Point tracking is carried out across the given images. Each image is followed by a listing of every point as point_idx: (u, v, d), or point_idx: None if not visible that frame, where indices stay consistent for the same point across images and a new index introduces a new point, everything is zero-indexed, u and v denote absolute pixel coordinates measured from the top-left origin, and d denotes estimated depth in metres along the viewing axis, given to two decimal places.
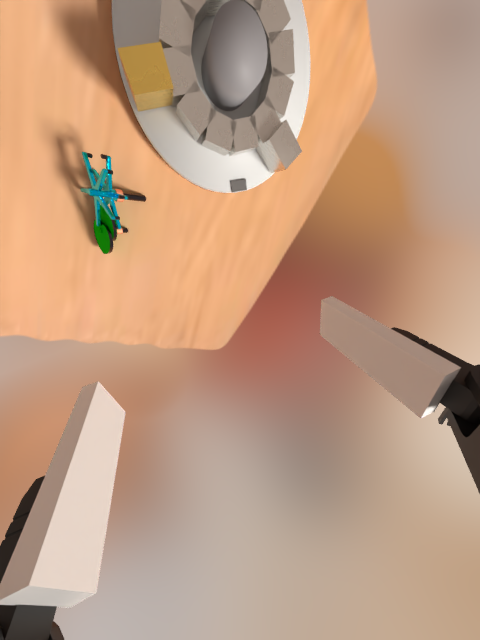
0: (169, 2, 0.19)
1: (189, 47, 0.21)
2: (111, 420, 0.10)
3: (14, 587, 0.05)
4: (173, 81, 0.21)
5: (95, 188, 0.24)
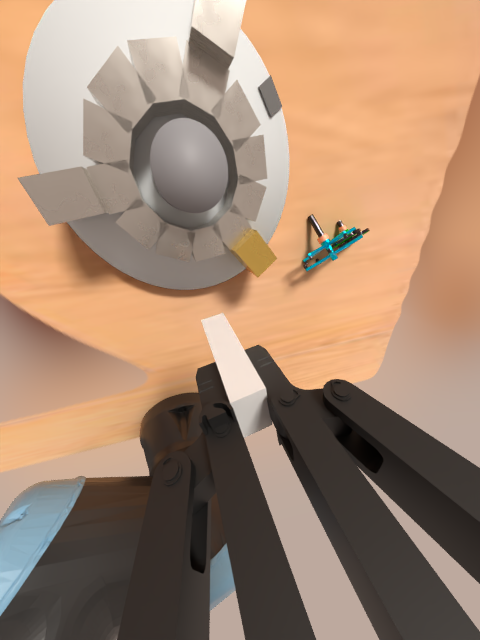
0: (200, 254, 0.21)
1: (212, 227, 0.20)
2: None
3: (238, 397, 0.08)
4: (242, 231, 0.22)
5: (331, 256, 0.28)
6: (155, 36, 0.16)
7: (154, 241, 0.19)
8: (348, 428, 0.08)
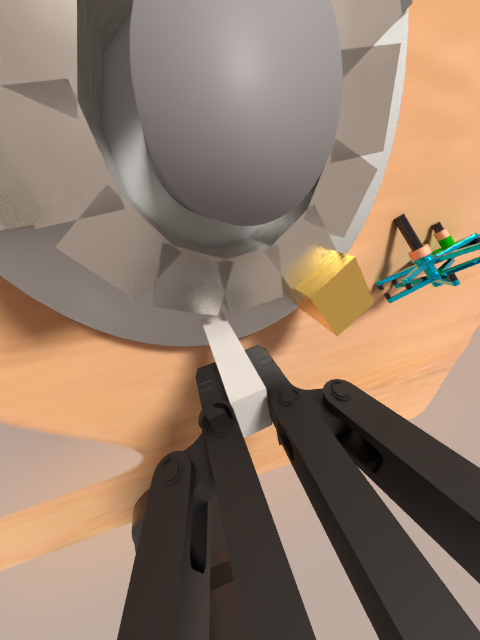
0: (238, 300, 0.11)
1: (267, 250, 0.10)
2: None
3: (238, 397, 0.08)
4: (318, 256, 0.11)
5: None
6: None
7: (149, 283, 0.09)
8: (348, 428, 0.08)
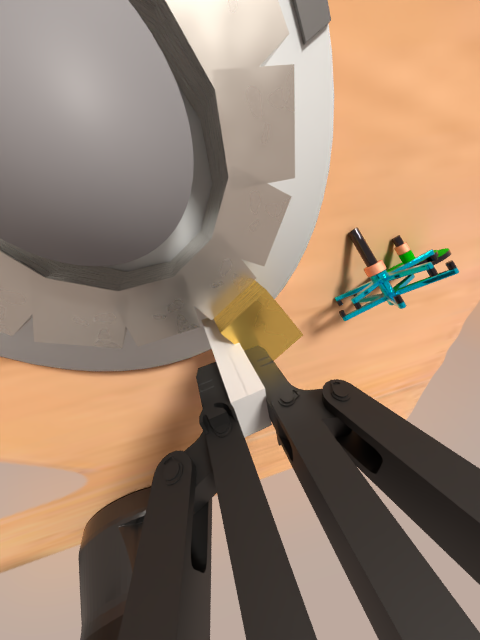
0: (145, 332, 0.10)
1: (170, 281, 0.09)
2: None
3: (238, 397, 0.08)
4: (236, 286, 0.10)
5: None
6: None
7: (23, 318, 0.08)
8: (347, 428, 0.08)
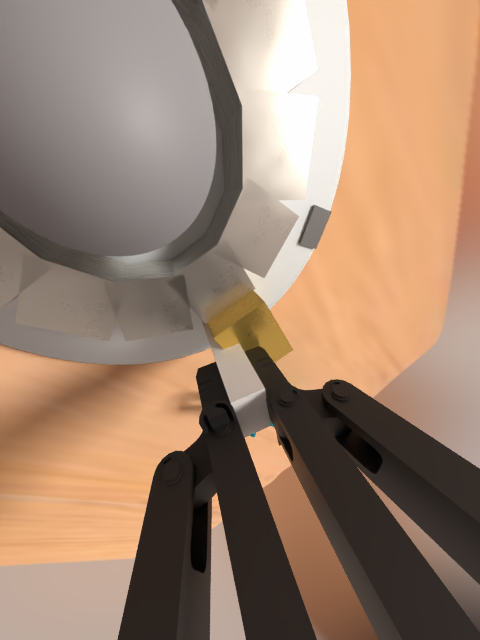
0: (136, 327, 0.10)
1: (170, 279, 0.09)
2: None
3: (238, 397, 0.08)
4: (235, 293, 0.11)
5: None
6: None
7: (8, 296, 0.08)
8: (347, 428, 0.08)
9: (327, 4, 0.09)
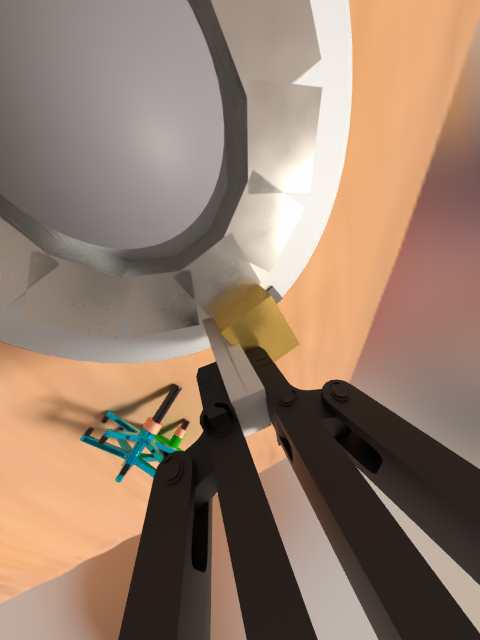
0: (143, 324, 0.10)
1: (176, 274, 0.09)
2: None
3: (239, 397, 0.08)
4: (241, 288, 0.11)
5: None
6: None
7: (16, 293, 0.08)
8: (347, 429, 0.08)
9: (329, 172, 0.12)
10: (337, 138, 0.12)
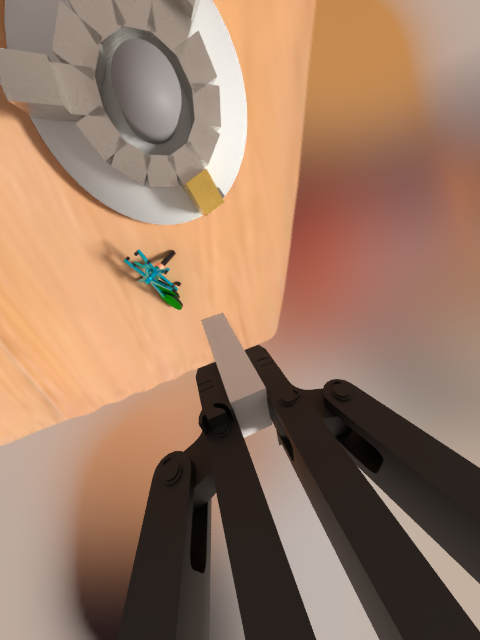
0: (154, 180, 0.24)
1: (168, 157, 0.23)
2: None
3: (238, 397, 0.08)
4: (196, 170, 0.25)
5: (147, 277, 0.30)
6: (223, 102, 0.25)
7: (111, 153, 0.22)
8: (348, 428, 0.08)
9: (240, 126, 0.27)
10: (241, 109, 0.26)
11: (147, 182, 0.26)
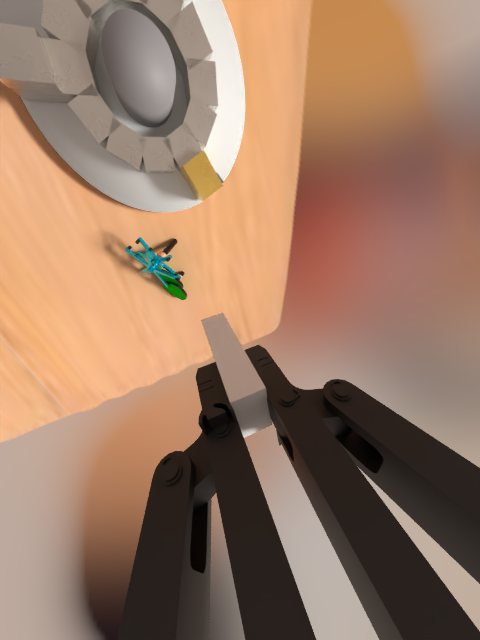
0: (150, 163, 0.23)
1: (164, 139, 0.23)
2: None
3: (238, 397, 0.08)
4: (193, 152, 0.24)
5: (149, 266, 0.29)
6: (220, 81, 0.24)
7: (105, 136, 0.21)
8: (348, 428, 0.08)
9: (238, 107, 0.26)
10: (239, 89, 0.25)
11: (143, 167, 0.26)
